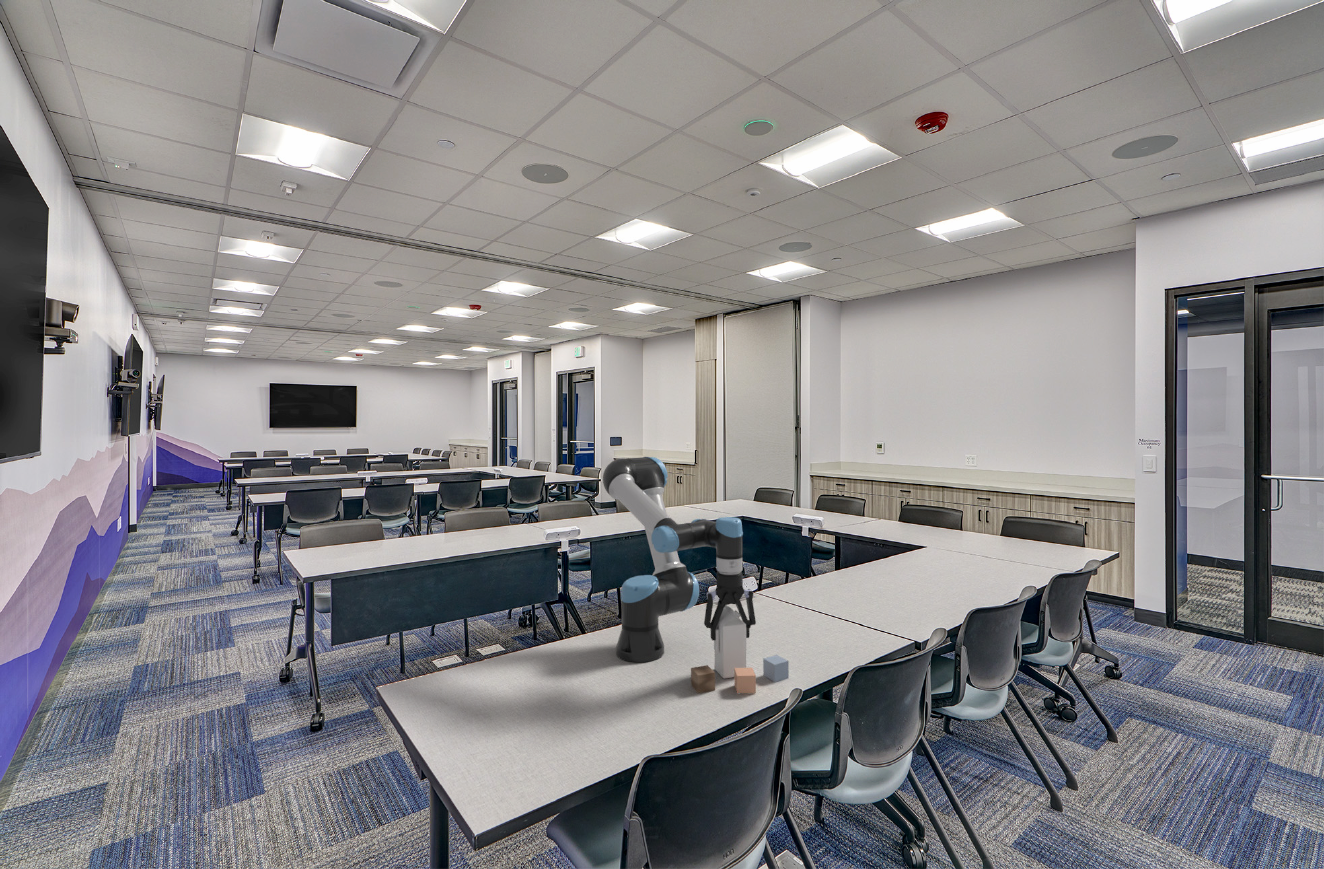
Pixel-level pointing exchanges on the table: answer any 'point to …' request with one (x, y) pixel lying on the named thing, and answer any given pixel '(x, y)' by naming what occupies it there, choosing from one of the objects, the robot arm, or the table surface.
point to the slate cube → (775, 668)
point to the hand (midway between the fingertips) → (730, 649)
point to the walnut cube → (703, 679)
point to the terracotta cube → (744, 680)
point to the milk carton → (730, 643)
